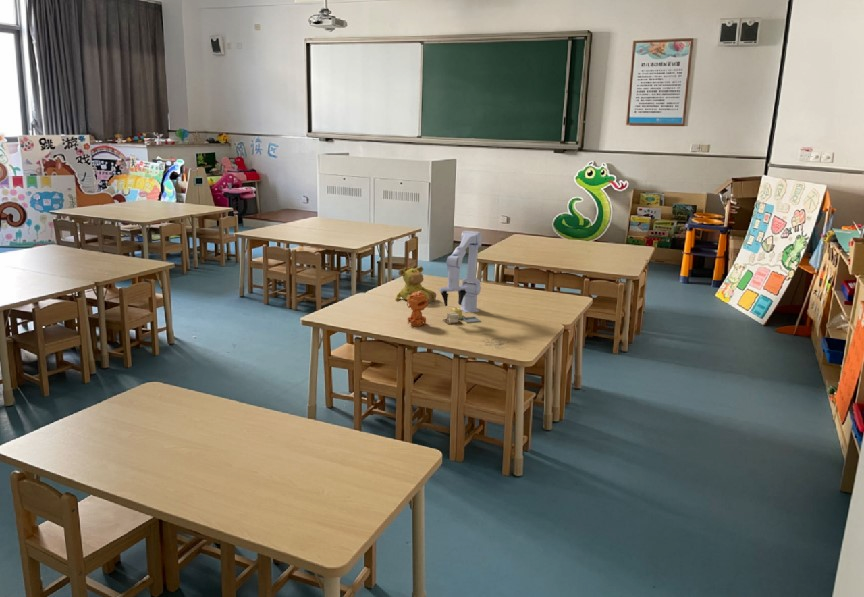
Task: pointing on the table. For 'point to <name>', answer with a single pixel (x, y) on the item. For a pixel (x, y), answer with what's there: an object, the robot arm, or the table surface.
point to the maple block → (452, 317)
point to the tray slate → (471, 319)
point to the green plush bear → (413, 284)
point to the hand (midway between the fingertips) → (452, 305)
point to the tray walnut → (452, 323)
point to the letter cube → (457, 311)
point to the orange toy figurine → (417, 308)
